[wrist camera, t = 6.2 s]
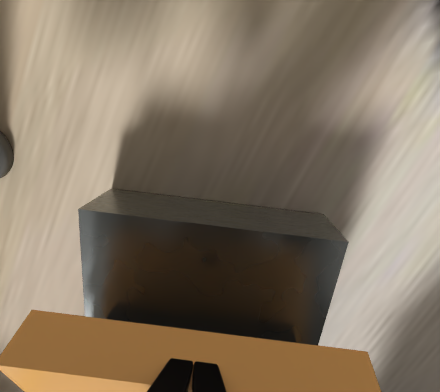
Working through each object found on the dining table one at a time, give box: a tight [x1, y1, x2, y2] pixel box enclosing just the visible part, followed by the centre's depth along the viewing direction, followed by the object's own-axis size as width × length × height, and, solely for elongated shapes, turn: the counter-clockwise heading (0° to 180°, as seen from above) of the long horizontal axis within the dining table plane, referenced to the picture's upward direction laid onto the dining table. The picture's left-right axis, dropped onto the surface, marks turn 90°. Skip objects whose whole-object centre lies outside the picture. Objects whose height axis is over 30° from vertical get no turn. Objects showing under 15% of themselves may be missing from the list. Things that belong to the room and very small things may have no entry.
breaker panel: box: [78, 189, 348, 346], centre depth 13 cm, size 11×12×4 cm
